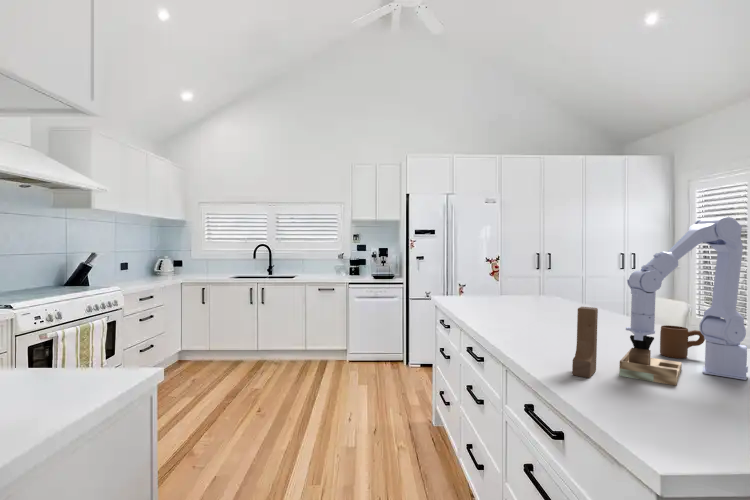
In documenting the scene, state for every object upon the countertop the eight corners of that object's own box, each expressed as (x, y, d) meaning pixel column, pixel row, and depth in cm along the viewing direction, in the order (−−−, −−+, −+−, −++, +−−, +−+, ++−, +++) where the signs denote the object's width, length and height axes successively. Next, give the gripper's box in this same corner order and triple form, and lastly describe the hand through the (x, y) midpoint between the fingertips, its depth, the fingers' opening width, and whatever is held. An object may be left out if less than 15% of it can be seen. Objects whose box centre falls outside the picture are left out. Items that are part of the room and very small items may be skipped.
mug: (703, 357, 146) (704, 328, 145) (705, 362, 139) (706, 332, 139) (659, 352, 152) (660, 324, 152) (659, 356, 146) (660, 327, 146)
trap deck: (681, 369, 131) (681, 355, 131) (676, 385, 115) (676, 370, 115) (630, 361, 139) (631, 348, 139) (619, 375, 123) (619, 361, 123)
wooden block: (589, 378, 120) (591, 311, 119) (571, 375, 122) (573, 309, 122) (596, 371, 127) (598, 307, 127) (579, 368, 130) (580, 306, 129)
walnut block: (650, 365, 124) (650, 350, 123) (648, 371, 120) (648, 355, 120) (631, 362, 127) (631, 347, 126) (629, 368, 123) (629, 352, 123)
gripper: (630, 309, 134) (629, 354, 134) (622, 314, 122) (620, 364, 122) (658, 312, 129) (656, 358, 129) (652, 318, 118) (650, 369, 118)
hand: (641, 362), depth 126 cm, fingers closed, pressing on walnut block
